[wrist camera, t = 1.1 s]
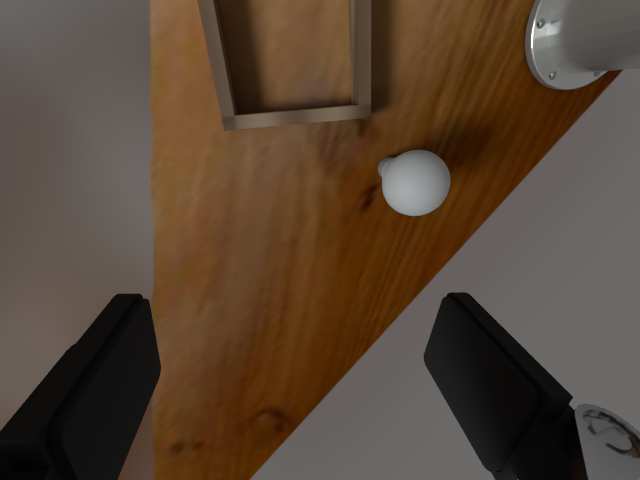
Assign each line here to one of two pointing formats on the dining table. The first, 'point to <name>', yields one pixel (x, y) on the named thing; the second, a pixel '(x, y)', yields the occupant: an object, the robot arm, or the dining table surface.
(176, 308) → the dining table surface
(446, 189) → the lightbulb
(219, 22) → the box
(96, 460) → the robot arm
